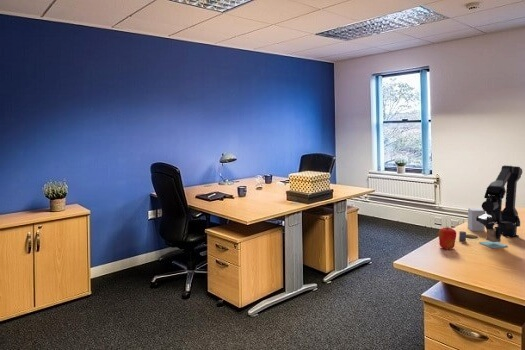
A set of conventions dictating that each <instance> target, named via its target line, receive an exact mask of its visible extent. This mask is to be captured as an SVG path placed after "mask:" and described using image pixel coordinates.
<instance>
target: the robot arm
mask: <svg viewBox="0 0 525 350" xmlns="http://www.w3.org/2000/svg"><path fill="white" fill-rule="evenodd" d="M522 174H523V168H521V166H512V165H501V169H500V171H499V173H498V175H497V177H496V179H495V180H494V181H492V182H490V184H489V185H488V186H487V188H486V190H485V193H484V196H483V197H484V199H485V201H483V202H482V204H481V209H483V210H484V211H485V214H483V215H481V216H477V217H476V221H479V222H480V223H482V224H483V225H484V226H485V230H486V231H487V229H490V228H495V229H496V239H499V237H500V236H501V237H502V236H505V237H508V238H513V237H515V238H516V237H519V234H517V231H518V229H517V228H518V227H521V220H520V217H519V212H518V211H517V208H516V199H517V198H516V197H517V186H518V185H517V183H518V182H519V180H520V179H521V178H522V177H521V176H522ZM505 187H506V188H505ZM504 198H505V203H504V204H505V205H504V208H503V207H502V205H503V199H504ZM502 208H503V209H502ZM495 225H496V226H495Z"/></svg>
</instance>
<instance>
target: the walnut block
mask: <svg viewBox="0 0 525 350" xmlns="http://www.w3.org/2000/svg"><path fill="white" fill-rule="evenodd" d="M485 237H486V241H491V242H499V243H501V241H502V240H501V238H502V235H501V236H500V237H499V239H496V229H495V228H494V227H493V228H490V229H487V230H486V236H485Z"/></svg>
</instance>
